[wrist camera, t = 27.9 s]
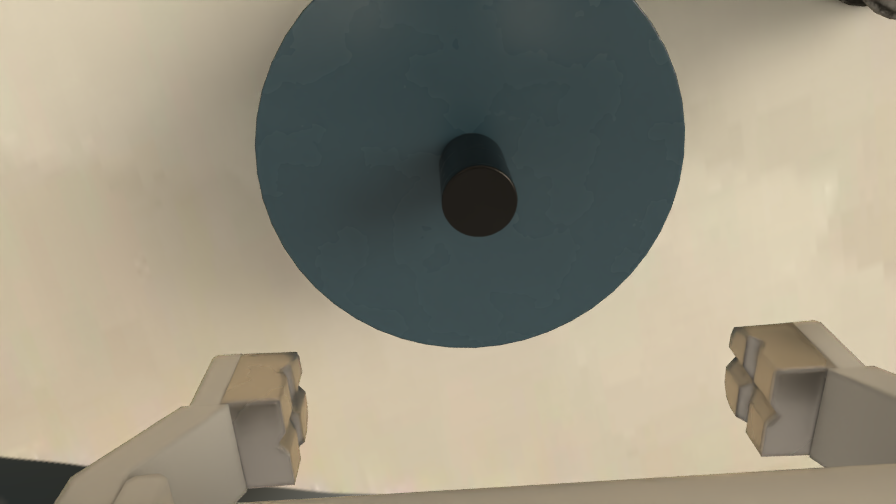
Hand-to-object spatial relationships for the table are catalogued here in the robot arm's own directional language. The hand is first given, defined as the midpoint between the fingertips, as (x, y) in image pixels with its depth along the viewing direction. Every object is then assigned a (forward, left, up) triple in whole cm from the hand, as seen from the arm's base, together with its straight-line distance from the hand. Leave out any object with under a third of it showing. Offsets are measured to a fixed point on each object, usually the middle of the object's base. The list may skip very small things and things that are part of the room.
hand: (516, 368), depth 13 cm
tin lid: (0, 0, -14) cm, 14 cm away
